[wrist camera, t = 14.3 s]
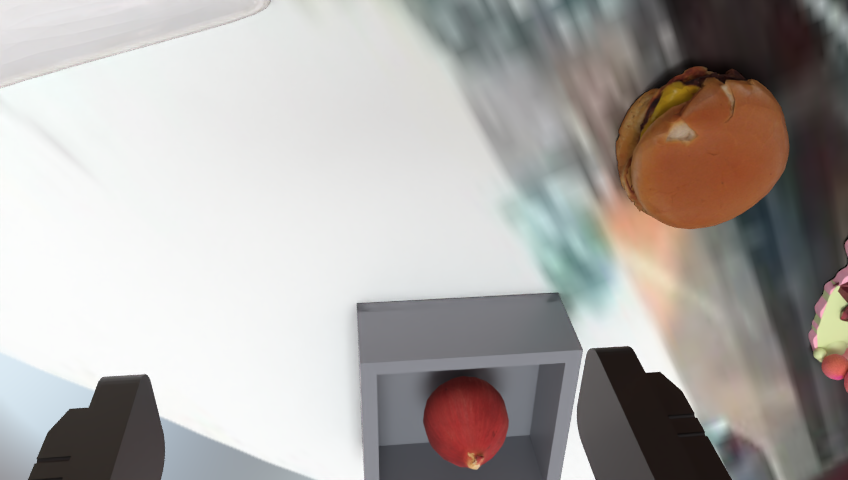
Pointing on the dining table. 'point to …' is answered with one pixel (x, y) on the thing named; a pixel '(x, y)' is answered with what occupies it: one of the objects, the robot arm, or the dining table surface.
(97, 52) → the square plate
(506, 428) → the onion
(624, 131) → the burger
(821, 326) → the candy dessert platter
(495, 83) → the dining table surface
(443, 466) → the bin
